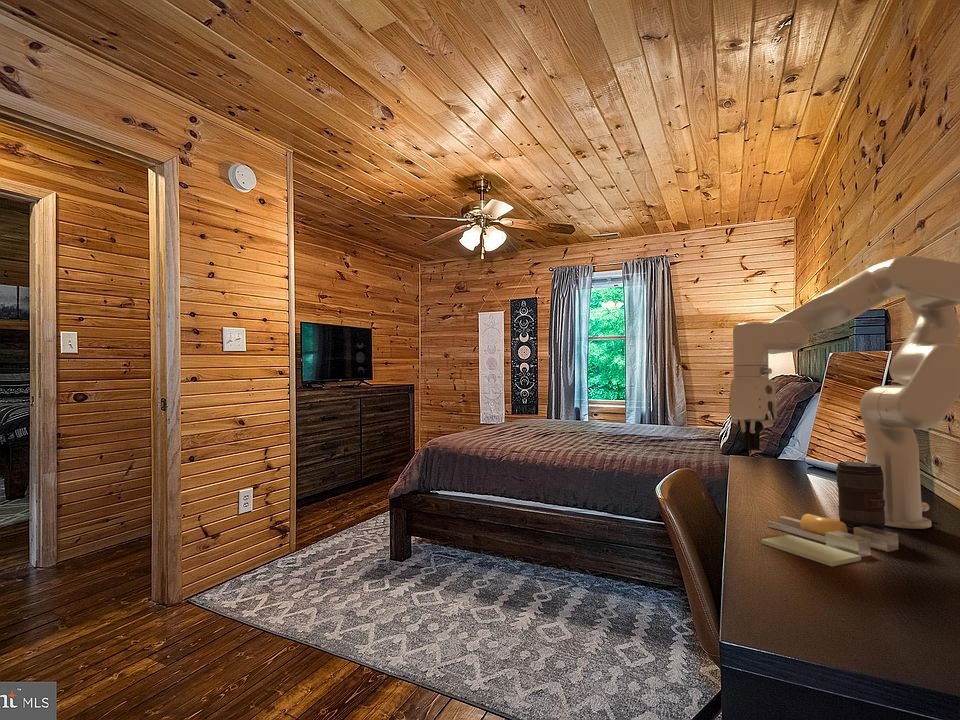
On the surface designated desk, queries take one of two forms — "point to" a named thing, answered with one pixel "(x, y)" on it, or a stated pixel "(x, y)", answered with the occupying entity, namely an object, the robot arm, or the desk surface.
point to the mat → (811, 550)
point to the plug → (813, 524)
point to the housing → (850, 539)
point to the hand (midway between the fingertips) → (751, 449)
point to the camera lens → (860, 495)
